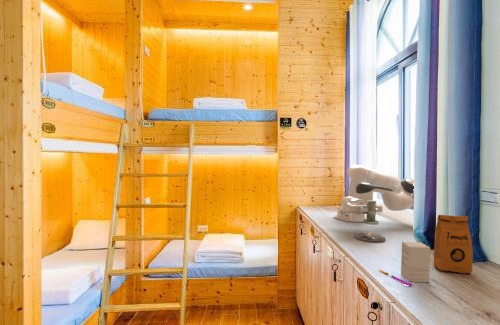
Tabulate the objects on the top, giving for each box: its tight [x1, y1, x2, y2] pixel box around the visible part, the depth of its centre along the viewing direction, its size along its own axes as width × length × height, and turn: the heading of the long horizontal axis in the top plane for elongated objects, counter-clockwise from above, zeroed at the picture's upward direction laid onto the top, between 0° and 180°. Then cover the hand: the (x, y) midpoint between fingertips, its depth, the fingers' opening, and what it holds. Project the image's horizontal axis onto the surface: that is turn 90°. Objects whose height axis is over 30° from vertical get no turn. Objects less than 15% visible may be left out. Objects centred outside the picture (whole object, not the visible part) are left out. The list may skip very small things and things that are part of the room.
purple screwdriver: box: [379, 269, 413, 287], centre depth 116 cm, size 3×1×16 cm
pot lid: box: [353, 230, 387, 244], centre depth 174 cm, size 16×16×5 cm
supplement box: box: [400, 241, 431, 283], centre depth 117 cm, size 7×7×13 cm
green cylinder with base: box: [362, 200, 380, 226], centre depth 173 cm, size 8×8×12 cm
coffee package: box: [433, 214, 474, 274], centre depth 127 cm, size 10×12×22 cm
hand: (372, 210), depth 172 cm, fingers closed on green cylinder with base, 5 cm apart
